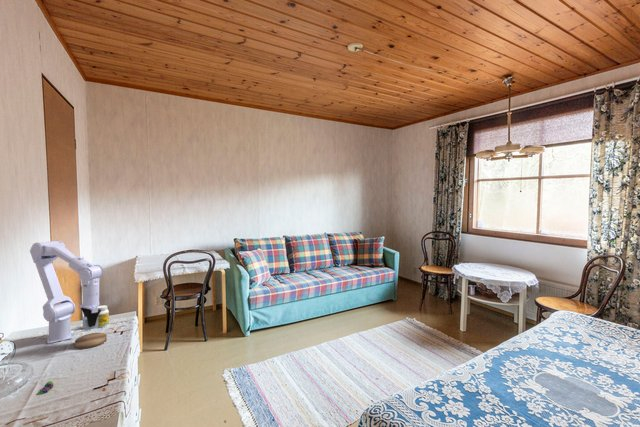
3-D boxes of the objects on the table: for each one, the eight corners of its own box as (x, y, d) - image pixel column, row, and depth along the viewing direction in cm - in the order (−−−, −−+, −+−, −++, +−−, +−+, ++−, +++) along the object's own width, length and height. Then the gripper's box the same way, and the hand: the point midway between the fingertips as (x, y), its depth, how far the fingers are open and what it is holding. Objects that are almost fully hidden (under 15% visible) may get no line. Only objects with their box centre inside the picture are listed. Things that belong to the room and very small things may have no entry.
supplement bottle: (109, 322, 149) (109, 304, 149) (108, 326, 144) (108, 307, 144) (95, 324, 146) (96, 305, 146) (94, 328, 142) (95, 309, 141)
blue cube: (82, 327, 127) (82, 317, 127) (95, 324, 131) (95, 314, 130) (85, 330, 124) (85, 320, 124) (98, 327, 128) (98, 317, 127)
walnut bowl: (73, 341, 128) (73, 337, 128) (104, 334, 136) (104, 330, 136) (75, 351, 120) (75, 347, 120) (108, 343, 128) (108, 339, 128)
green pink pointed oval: (43, 388, 98) (43, 381, 98) (53, 387, 98) (53, 380, 98) (34, 397, 94) (34, 389, 94) (45, 395, 94) (45, 388, 94)
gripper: (75, 291, 128) (75, 321, 129) (83, 300, 119) (82, 332, 120) (95, 288, 134) (94, 317, 134) (104, 296, 124) (103, 327, 125)
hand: (90, 324), depth 127 cm, fingers closed on blue cube, 4 cm apart
